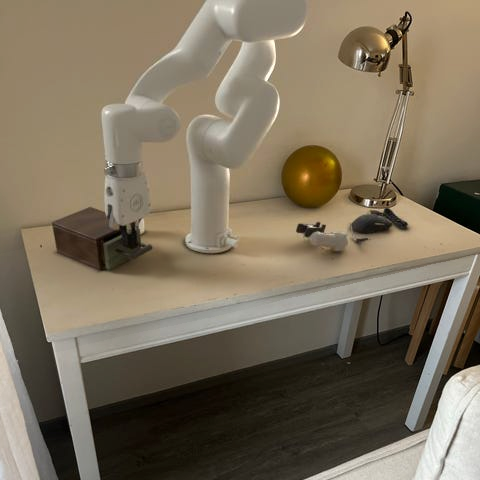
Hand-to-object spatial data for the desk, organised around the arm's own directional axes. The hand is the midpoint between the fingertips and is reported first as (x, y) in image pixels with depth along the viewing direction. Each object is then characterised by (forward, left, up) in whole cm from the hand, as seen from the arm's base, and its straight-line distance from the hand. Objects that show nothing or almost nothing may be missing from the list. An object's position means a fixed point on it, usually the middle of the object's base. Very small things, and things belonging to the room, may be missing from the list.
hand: (130, 246), depth 117 cm
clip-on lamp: (-33, -42, -6) cm, 54 cm away
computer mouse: (-37, -62, -6) cm, 72 cm away
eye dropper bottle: (+12, -14, -6) cm, 19 cm away
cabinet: (+12, 0, -6) cm, 13 cm away
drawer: (+6, 0, -5) cm, 8 cm away
